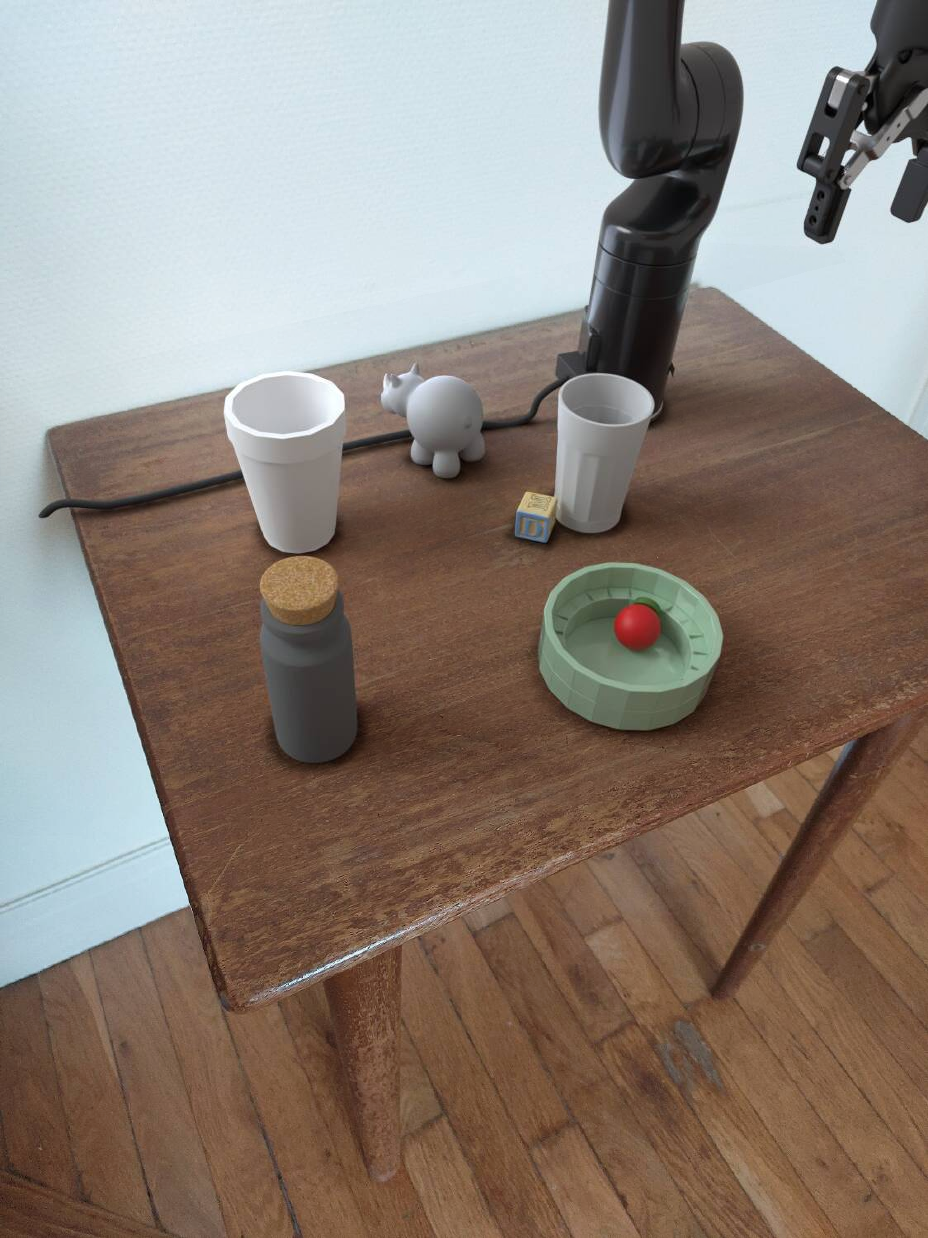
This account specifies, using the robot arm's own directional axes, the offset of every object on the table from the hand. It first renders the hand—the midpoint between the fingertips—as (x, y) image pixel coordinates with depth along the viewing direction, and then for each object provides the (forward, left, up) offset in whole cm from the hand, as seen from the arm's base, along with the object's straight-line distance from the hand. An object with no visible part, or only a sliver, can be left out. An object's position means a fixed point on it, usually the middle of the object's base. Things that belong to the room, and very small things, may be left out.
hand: (860, 228), depth 64 cm
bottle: (-37, -24, -28) cm, 53 cm away
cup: (-15, +2, -28) cm, 32 cm away
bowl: (-14, -17, -28) cm, 36 cm away
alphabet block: (-20, -1, -28) cm, 34 cm away
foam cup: (-41, -2, -28) cm, 50 cm away
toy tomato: (-14, -17, -26) cm, 34 cm away
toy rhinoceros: (-30, +11, -28) cm, 42 cm away
